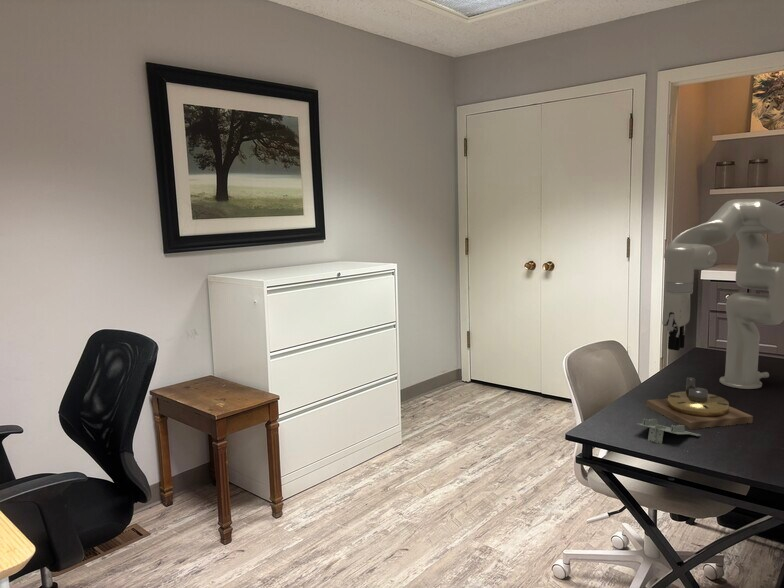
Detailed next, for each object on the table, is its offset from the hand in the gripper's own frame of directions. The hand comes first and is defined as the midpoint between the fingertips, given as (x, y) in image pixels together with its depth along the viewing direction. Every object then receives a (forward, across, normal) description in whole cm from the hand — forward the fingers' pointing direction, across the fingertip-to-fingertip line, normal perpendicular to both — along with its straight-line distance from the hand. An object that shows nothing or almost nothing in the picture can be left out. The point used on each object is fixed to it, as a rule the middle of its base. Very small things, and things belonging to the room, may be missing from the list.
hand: (676, 347), depth 180 cm
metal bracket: (+20, +23, +5) cm, 31 cm away
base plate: (+19, 0, +7) cm, 20 cm away
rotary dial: (+17, 0, +7) cm, 18 cm away
